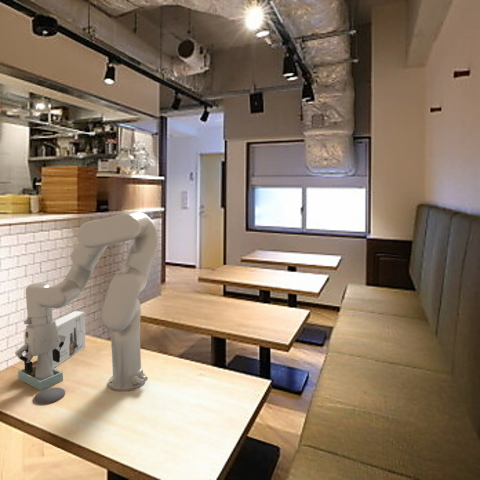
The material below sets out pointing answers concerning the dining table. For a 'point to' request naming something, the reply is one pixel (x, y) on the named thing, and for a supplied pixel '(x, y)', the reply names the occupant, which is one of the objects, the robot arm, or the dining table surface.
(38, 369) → the salt shaker
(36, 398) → the coaster
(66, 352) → the skincare box
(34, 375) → the walnut block
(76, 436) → the dining table surface
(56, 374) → the tray
